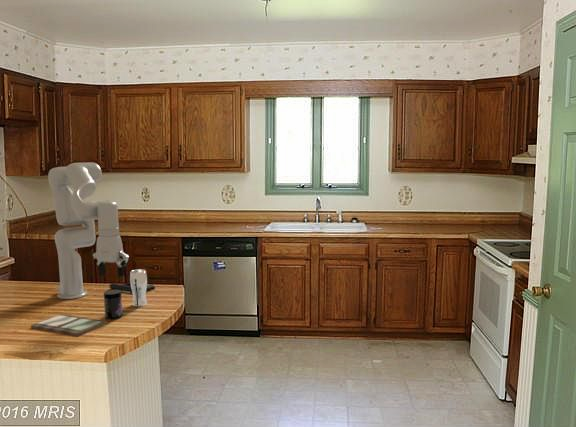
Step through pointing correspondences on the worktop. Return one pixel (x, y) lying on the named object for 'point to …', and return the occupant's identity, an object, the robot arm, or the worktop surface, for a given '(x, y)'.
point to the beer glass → (138, 287)
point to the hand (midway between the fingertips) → (111, 275)
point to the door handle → (127, 287)
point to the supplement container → (113, 304)
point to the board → (69, 324)
